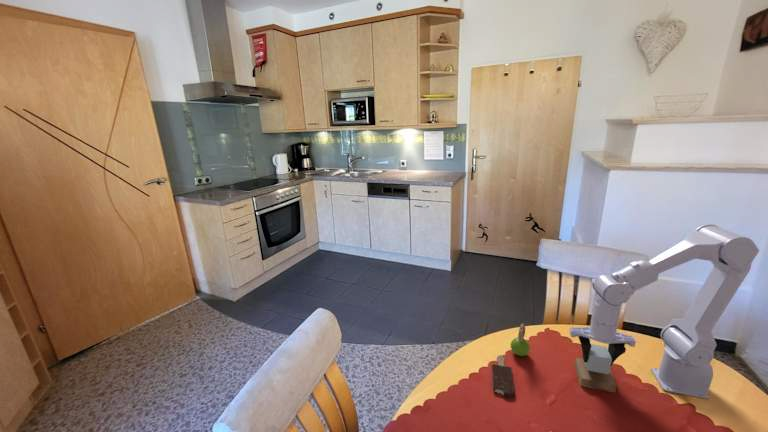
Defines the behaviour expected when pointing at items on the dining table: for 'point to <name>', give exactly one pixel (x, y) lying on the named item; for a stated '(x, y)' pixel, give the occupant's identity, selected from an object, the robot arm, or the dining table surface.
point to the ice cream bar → (503, 379)
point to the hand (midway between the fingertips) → (596, 361)
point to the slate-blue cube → (599, 359)
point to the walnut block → (594, 378)
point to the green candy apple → (520, 343)
